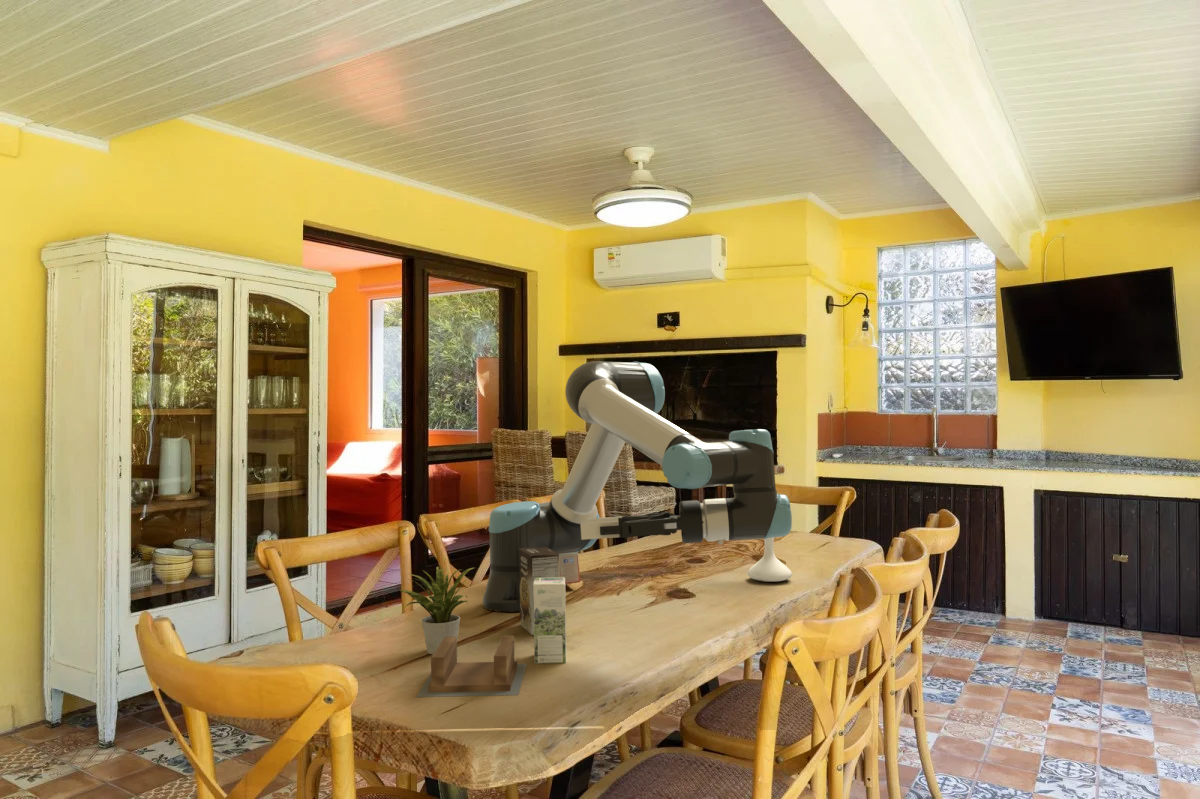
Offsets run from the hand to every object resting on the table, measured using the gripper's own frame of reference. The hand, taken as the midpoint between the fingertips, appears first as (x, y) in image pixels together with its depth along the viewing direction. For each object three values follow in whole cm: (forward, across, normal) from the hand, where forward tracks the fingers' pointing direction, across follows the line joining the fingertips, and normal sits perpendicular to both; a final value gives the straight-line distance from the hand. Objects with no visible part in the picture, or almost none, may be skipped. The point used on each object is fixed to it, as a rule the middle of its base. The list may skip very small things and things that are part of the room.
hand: (584, 528), depth 147 cm
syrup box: (+8, 0, -23) cm, 24 cm away
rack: (+19, -11, -23) cm, 32 cm away
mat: (+19, -11, -23) cm, 32 cm away
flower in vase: (-40, +69, -21) cm, 83 cm away
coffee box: (+13, +22, -22) cm, 33 cm away
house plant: (+29, +7, -22) cm, 37 cm away
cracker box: (+13, +63, -18) cm, 67 cm away
